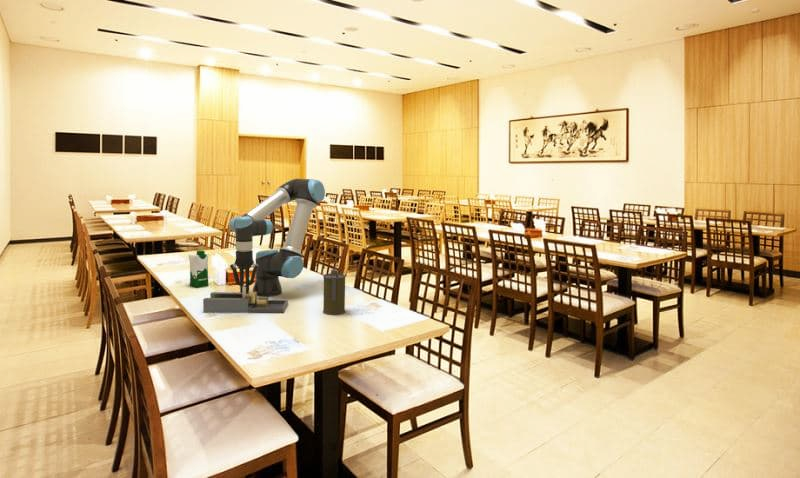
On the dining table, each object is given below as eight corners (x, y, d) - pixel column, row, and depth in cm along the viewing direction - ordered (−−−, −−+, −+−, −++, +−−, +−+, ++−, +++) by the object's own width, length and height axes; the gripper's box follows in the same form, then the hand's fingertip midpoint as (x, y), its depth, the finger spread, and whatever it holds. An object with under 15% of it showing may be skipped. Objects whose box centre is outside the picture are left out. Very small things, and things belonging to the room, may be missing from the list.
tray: (288, 304, 245) (288, 300, 245) (283, 313, 230) (283, 308, 230) (254, 304, 244) (254, 299, 244) (247, 312, 229) (247, 308, 229)
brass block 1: (257, 301, 238) (257, 292, 238) (255, 303, 234) (255, 294, 233) (247, 301, 238) (247, 291, 238) (245, 303, 234) (245, 294, 233)
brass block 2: (259, 306, 239) (268, 306, 239) (256, 309, 234) (266, 309, 234) (258, 297, 238) (268, 297, 238) (256, 299, 234) (266, 299, 234)
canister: (323, 308, 240) (323, 267, 237) (345, 308, 241) (346, 268, 238) (322, 315, 229) (322, 272, 226) (344, 315, 230) (345, 272, 227)
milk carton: (196, 288, 272) (195, 252, 269) (187, 286, 277) (186, 250, 274) (211, 286, 279) (210, 250, 276) (201, 283, 284) (200, 248, 281)
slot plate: (254, 304, 244) (254, 292, 243) (248, 312, 230) (248, 299, 229) (212, 304, 242) (212, 292, 241) (203, 312, 228) (203, 299, 227)
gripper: (260, 249, 237) (260, 297, 240) (232, 248, 236) (232, 297, 239) (256, 251, 229) (257, 301, 233) (227, 251, 228) (228, 301, 232)
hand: (244, 299), depth 236 cm, fingers closed
